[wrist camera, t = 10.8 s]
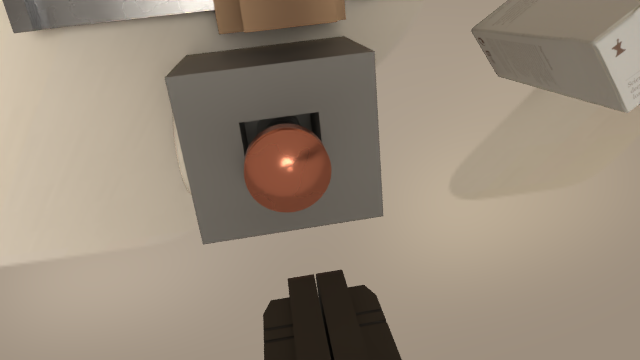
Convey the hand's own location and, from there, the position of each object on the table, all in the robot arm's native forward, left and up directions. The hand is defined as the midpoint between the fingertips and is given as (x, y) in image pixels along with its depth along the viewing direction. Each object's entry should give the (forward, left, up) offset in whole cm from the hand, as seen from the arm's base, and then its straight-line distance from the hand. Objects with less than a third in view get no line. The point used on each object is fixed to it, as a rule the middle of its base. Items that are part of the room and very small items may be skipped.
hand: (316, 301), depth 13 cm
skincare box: (-17, -4, -20) cm, 27 cm away
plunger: (0, 0, -17) cm, 17 cm away
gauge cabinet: (0, 0, -20) cm, 20 cm away
